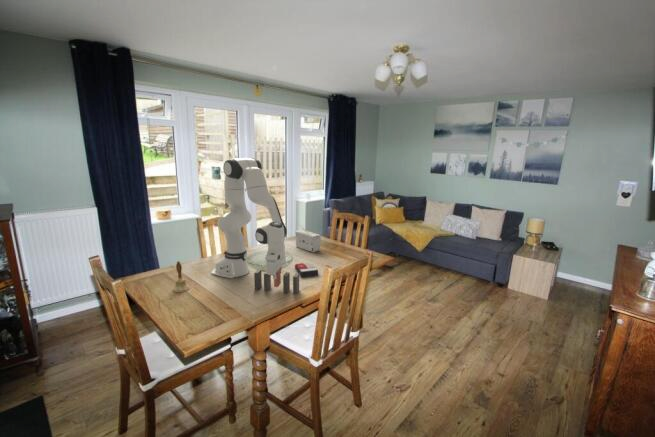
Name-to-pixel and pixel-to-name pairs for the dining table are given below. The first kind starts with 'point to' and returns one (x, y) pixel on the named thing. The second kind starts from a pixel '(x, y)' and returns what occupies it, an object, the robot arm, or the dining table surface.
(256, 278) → the domino
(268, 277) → the domino
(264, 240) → the robot arm
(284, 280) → the domino
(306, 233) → the stereo radio cassette player
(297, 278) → the domino
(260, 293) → the dining table surface
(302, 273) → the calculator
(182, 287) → the hand bell
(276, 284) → the domino
